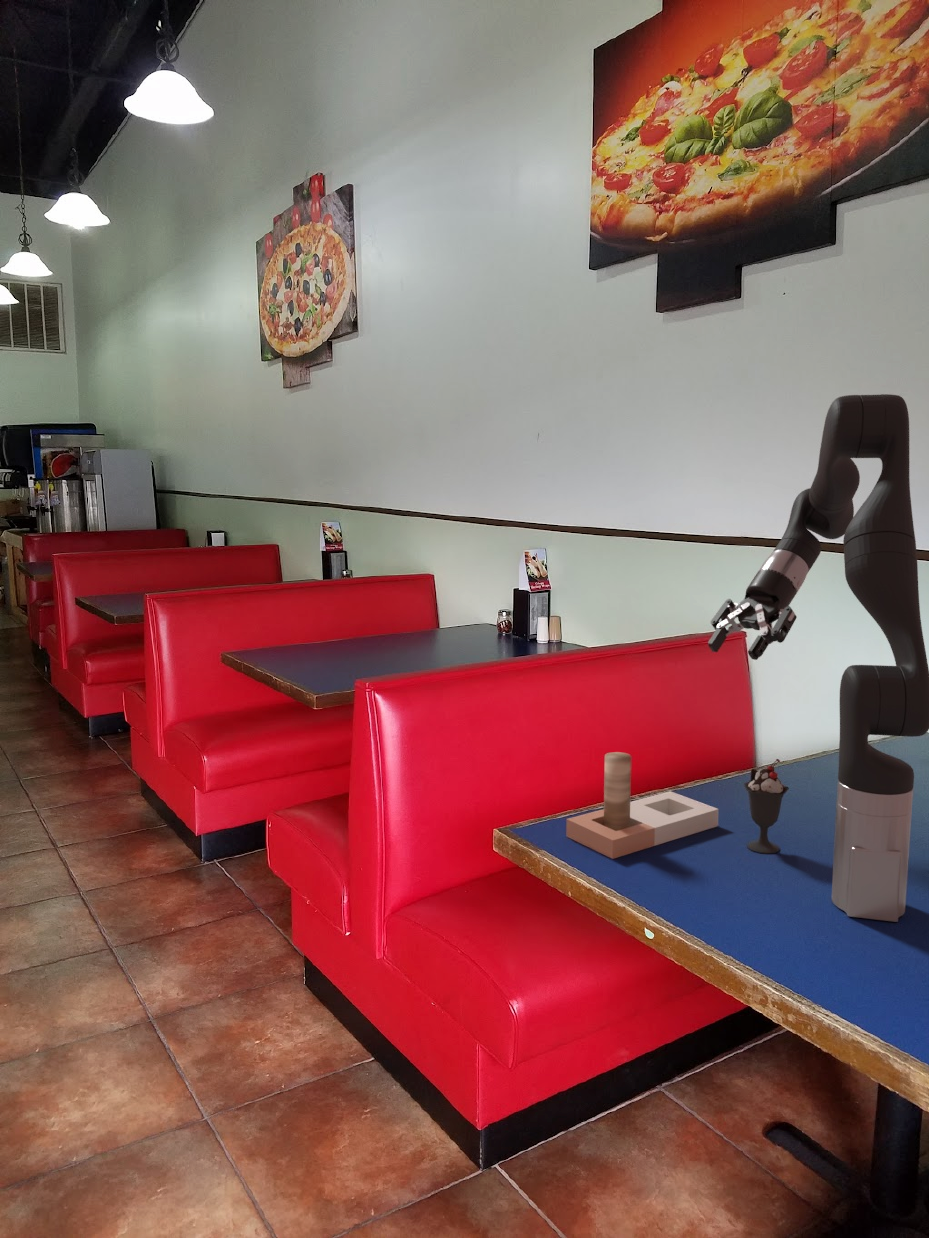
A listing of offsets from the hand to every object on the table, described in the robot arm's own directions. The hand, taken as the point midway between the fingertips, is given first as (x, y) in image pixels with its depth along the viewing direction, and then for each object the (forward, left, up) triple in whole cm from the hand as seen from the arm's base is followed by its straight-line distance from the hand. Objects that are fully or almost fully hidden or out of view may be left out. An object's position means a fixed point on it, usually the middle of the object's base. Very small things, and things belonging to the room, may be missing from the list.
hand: (731, 652), depth 154 cm
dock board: (-12, +13, -29) cm, 34 cm away
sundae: (-14, -6, -29) cm, 33 cm away
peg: (-16, +17, -29) cm, 37 cm away
